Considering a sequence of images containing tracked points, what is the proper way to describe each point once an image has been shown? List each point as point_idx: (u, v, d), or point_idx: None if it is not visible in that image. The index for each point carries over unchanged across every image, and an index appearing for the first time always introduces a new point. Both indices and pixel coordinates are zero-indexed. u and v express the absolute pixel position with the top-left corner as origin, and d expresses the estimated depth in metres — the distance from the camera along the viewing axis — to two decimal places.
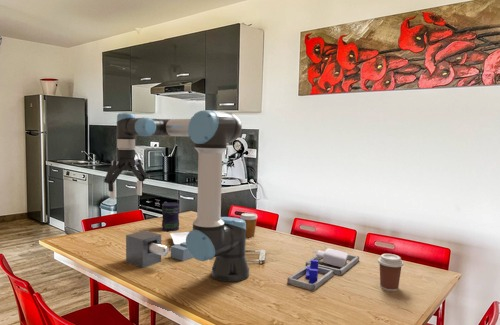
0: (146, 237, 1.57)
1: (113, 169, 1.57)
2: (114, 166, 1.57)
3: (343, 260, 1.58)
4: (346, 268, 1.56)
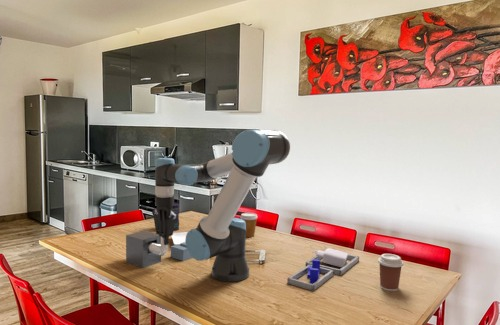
0: (146, 237, 1.57)
1: (154, 219, 1.54)
2: (154, 216, 1.54)
3: (343, 260, 1.58)
4: (346, 268, 1.56)
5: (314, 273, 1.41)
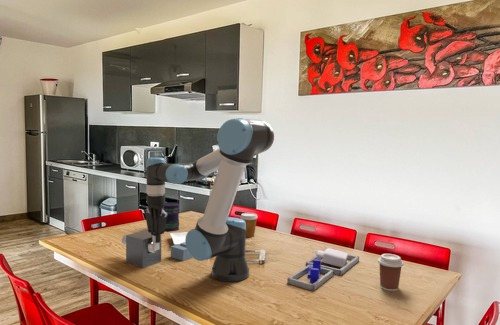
0: (146, 237, 1.57)
1: (146, 218, 1.57)
2: (146, 215, 1.57)
3: (343, 260, 1.58)
4: (346, 268, 1.56)
5: (314, 273, 1.41)
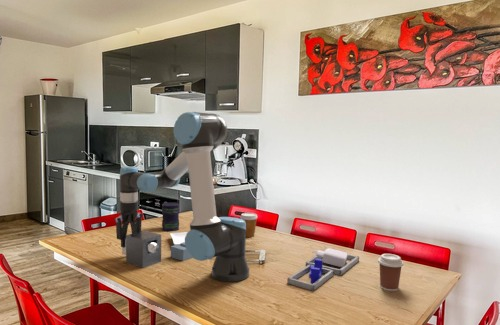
0: (146, 237, 1.57)
1: (120, 226, 1.61)
2: (120, 223, 1.61)
3: (343, 260, 1.58)
4: (346, 268, 1.56)
5: (315, 272, 1.42)
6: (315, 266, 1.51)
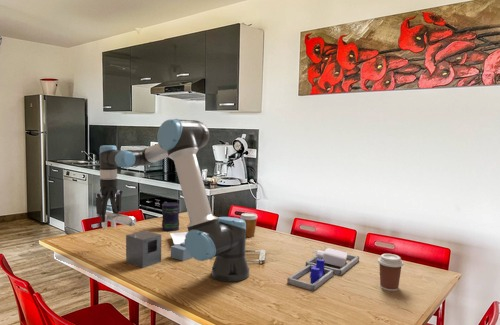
0: (146, 237, 1.57)
1: (100, 201, 1.69)
2: (99, 198, 1.69)
3: (343, 260, 1.59)
4: (346, 268, 1.56)
5: (315, 273, 1.42)
6: (317, 266, 1.51)
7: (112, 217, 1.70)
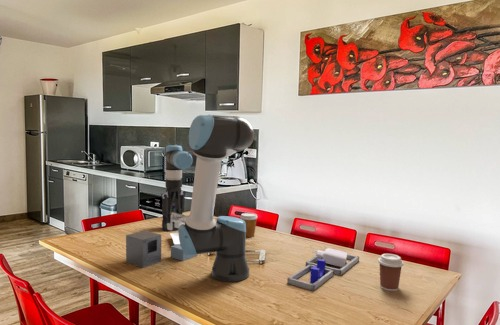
0: (146, 237, 1.57)
1: (166, 202, 1.67)
2: (166, 199, 1.67)
3: (343, 260, 1.59)
4: (346, 268, 1.56)
5: (314, 272, 1.42)
6: (317, 266, 1.51)
7: (178, 218, 1.68)
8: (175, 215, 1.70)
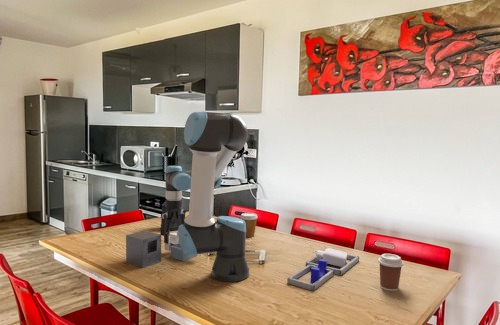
0: (146, 237, 1.57)
1: (165, 222, 1.67)
2: (165, 219, 1.67)
3: (343, 260, 1.59)
4: (346, 268, 1.56)
5: (315, 273, 1.42)
6: (319, 267, 1.51)
7: (178, 241, 1.69)
8: (175, 238, 1.71)
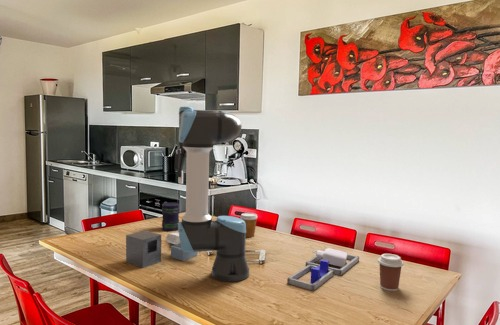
0: (146, 237, 1.57)
1: (179, 157, 1.82)
2: (179, 154, 1.82)
3: (343, 260, 1.59)
4: (346, 268, 1.56)
5: (315, 273, 1.42)
6: (320, 267, 1.51)
7: (178, 241, 1.69)
8: (175, 238, 1.71)
